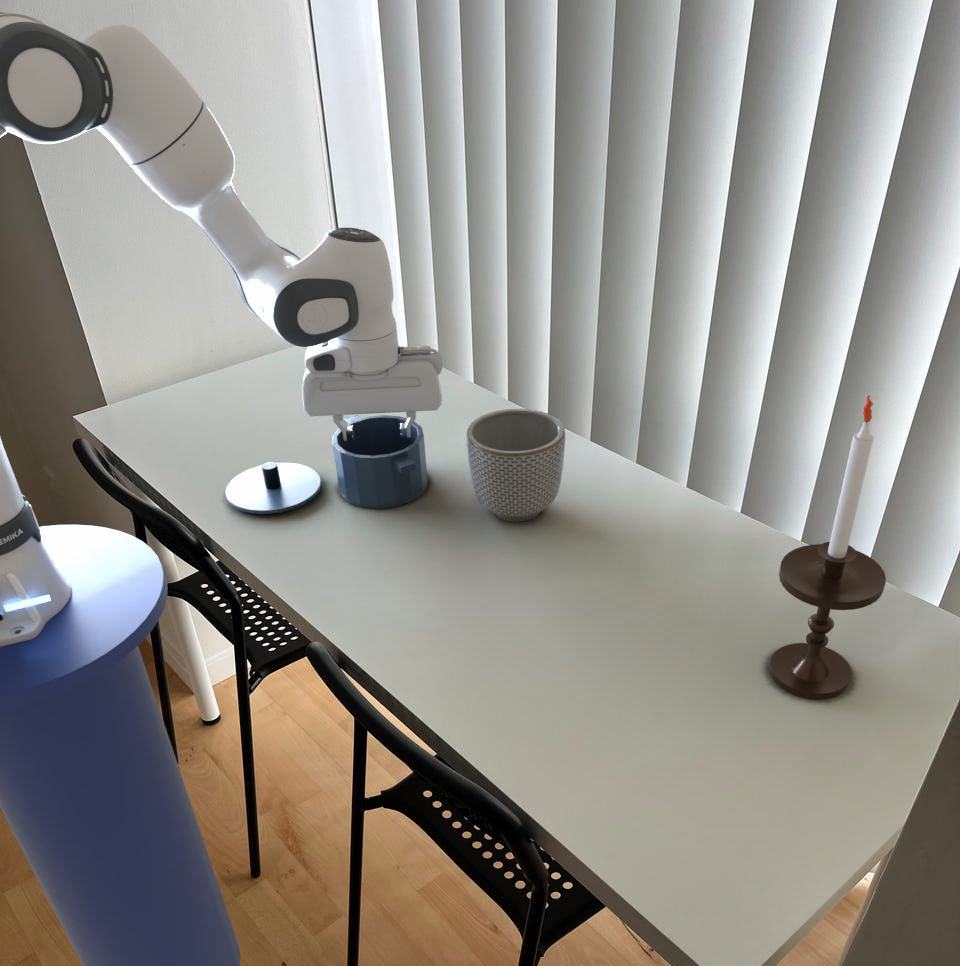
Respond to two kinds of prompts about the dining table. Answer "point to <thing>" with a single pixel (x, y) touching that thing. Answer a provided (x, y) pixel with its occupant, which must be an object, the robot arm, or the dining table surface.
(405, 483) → the pot
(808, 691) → the candlestick
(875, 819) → the dining table surface
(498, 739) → the dining table surface
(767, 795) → the dining table surface
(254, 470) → the lid
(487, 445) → the planter
